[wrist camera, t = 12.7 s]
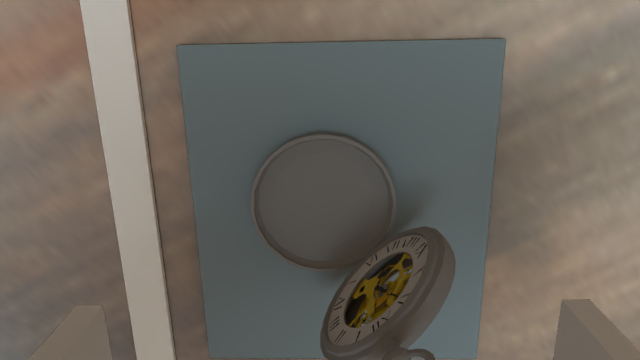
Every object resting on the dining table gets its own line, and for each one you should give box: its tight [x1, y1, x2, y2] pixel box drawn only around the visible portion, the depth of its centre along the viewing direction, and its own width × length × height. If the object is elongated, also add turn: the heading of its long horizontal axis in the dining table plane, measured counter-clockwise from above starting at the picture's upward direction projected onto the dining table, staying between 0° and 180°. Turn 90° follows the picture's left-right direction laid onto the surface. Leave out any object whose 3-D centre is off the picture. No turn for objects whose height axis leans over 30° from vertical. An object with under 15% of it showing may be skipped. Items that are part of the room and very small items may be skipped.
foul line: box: [80, 0, 176, 360], centre depth 24 cm, size 2×22×1 cm, turn 2°
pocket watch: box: [250, 133, 456, 360], centre depth 18 cm, size 8×8×10 cm
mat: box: [176, 38, 506, 359], centre depth 23 cm, size 14×16×1 cm
